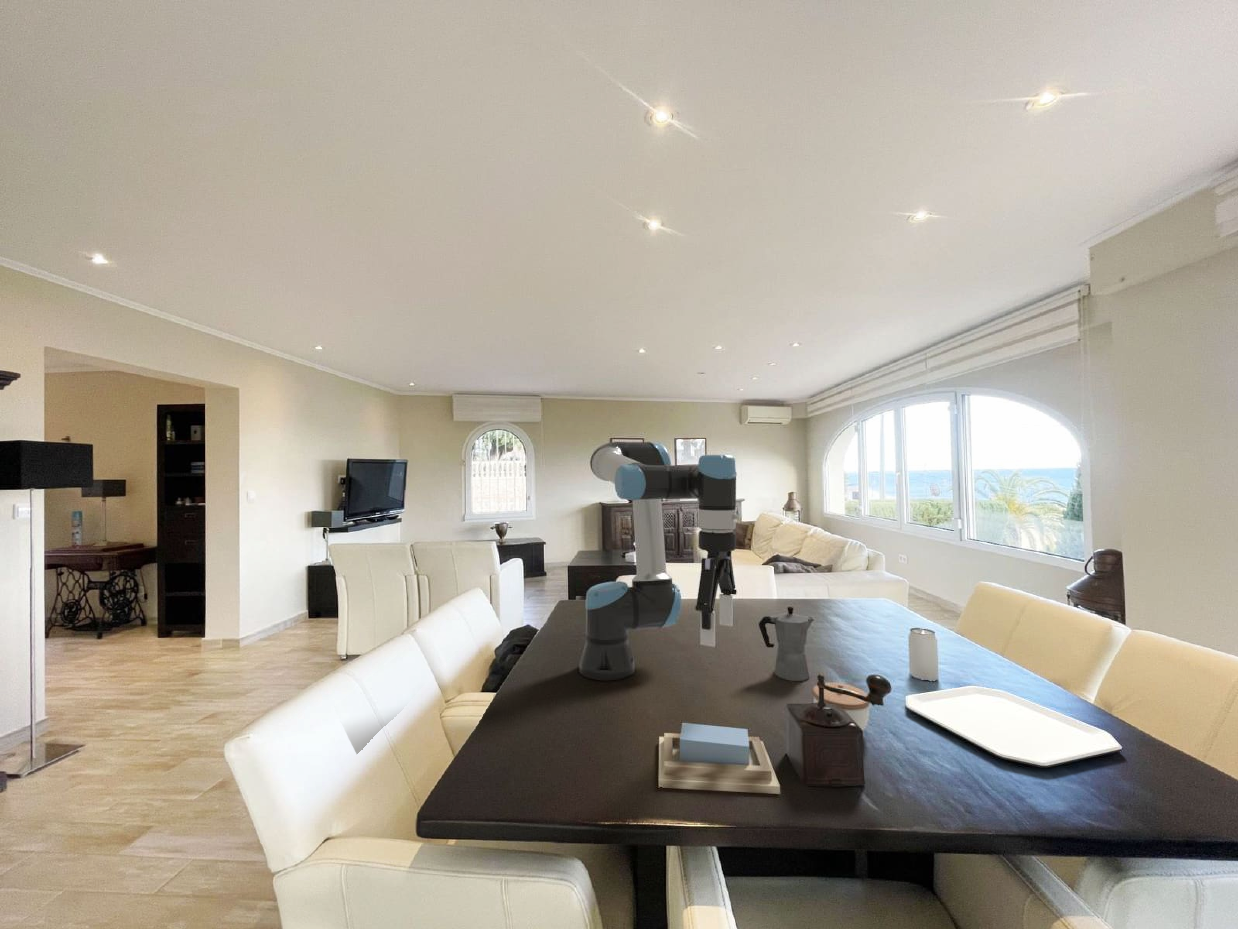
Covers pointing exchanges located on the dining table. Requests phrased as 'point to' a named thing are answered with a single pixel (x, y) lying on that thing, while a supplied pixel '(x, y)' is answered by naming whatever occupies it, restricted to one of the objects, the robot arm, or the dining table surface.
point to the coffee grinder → (829, 737)
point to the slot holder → (716, 770)
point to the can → (923, 654)
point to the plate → (1012, 726)
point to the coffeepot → (789, 644)
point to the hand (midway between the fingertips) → (717, 634)
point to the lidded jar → (846, 702)
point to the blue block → (714, 744)
